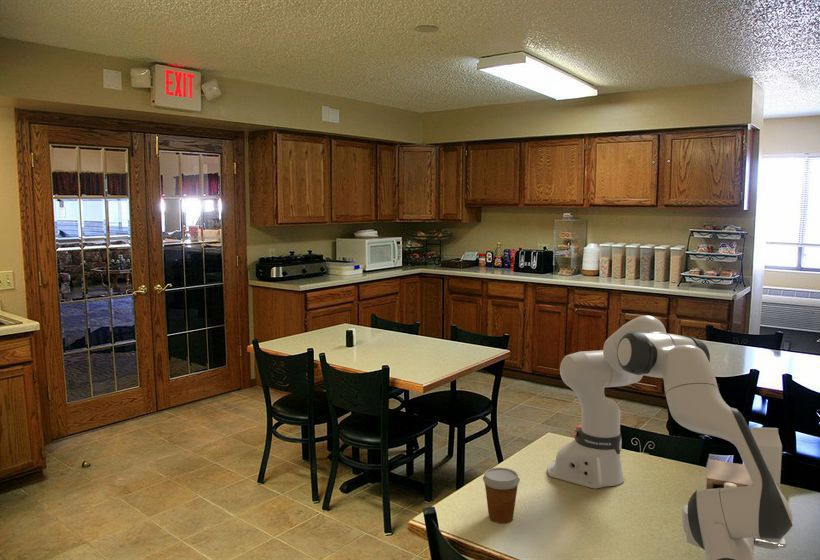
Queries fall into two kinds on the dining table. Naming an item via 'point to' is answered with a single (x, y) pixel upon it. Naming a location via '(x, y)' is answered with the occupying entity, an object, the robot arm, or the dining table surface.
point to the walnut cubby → (726, 474)
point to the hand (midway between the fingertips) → (730, 511)
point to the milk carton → (770, 449)
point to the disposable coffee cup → (501, 493)
